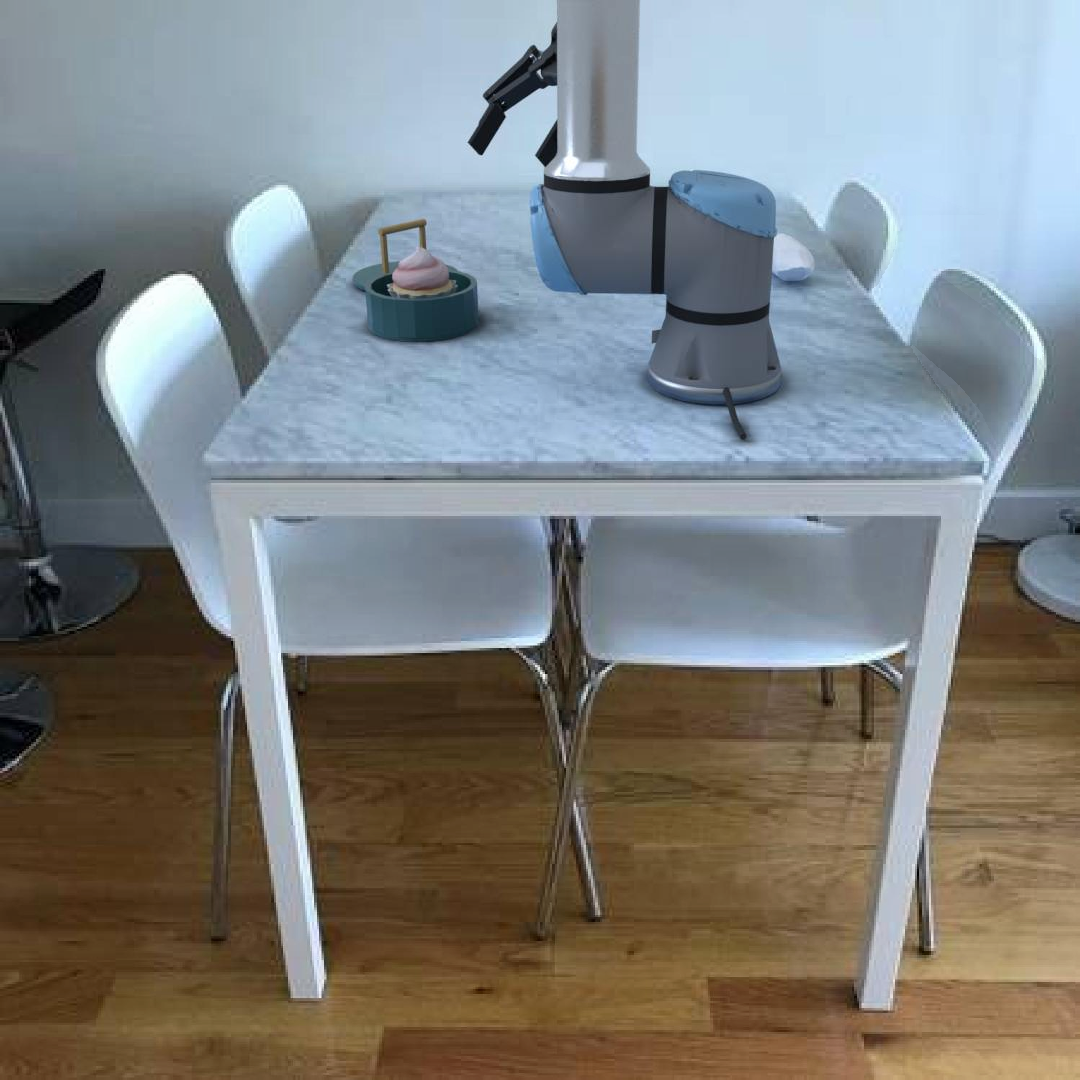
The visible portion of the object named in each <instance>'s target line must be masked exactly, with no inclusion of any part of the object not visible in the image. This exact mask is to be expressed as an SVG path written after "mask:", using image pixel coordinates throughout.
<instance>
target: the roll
mask: <svg viewBox="0 0 1080 1080" xmlns="http://www.w3.org/2000/svg"><path fill="white" fill-rule="evenodd" d="M814 270H815V259H814V257H813V255H812V253H811V251H810V250H809V249H808V248H807V247H805V246H804V245H803V244H802V243H801V242H800V241H798V240H797V239H796V238H794V237H792V236H790V235H788V234H785V233H782V232H781V233H777V235H776V237H774V247H773V262H772V274H774V275H775V276H776V277H778V278H779V279H780V280H782V281H786V282H801V281H802V282H803V281H804V280H805V279H808V277H811V275H814V272H815V271H814Z"/></svg>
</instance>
